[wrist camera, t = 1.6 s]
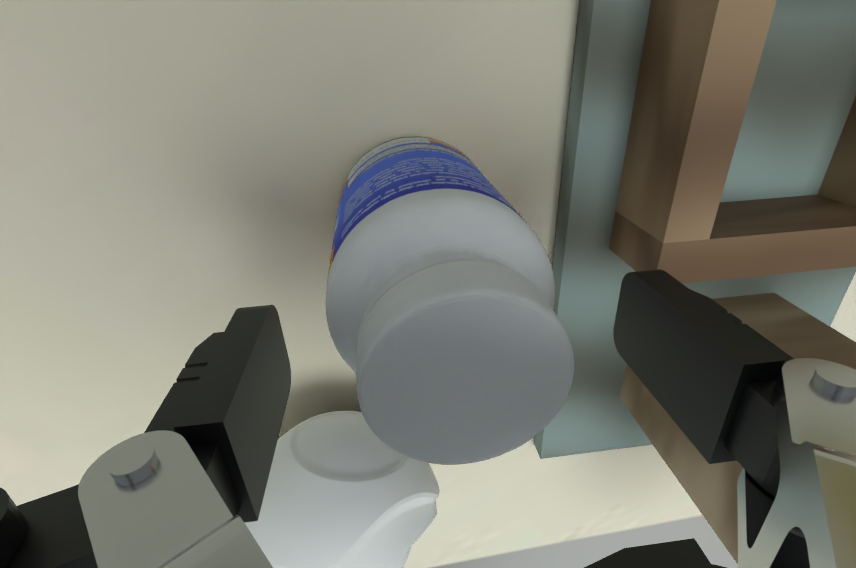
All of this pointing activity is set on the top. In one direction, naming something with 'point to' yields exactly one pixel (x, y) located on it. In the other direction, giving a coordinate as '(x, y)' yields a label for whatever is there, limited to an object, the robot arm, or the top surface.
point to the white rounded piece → (342, 498)
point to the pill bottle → (443, 307)
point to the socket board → (703, 200)
